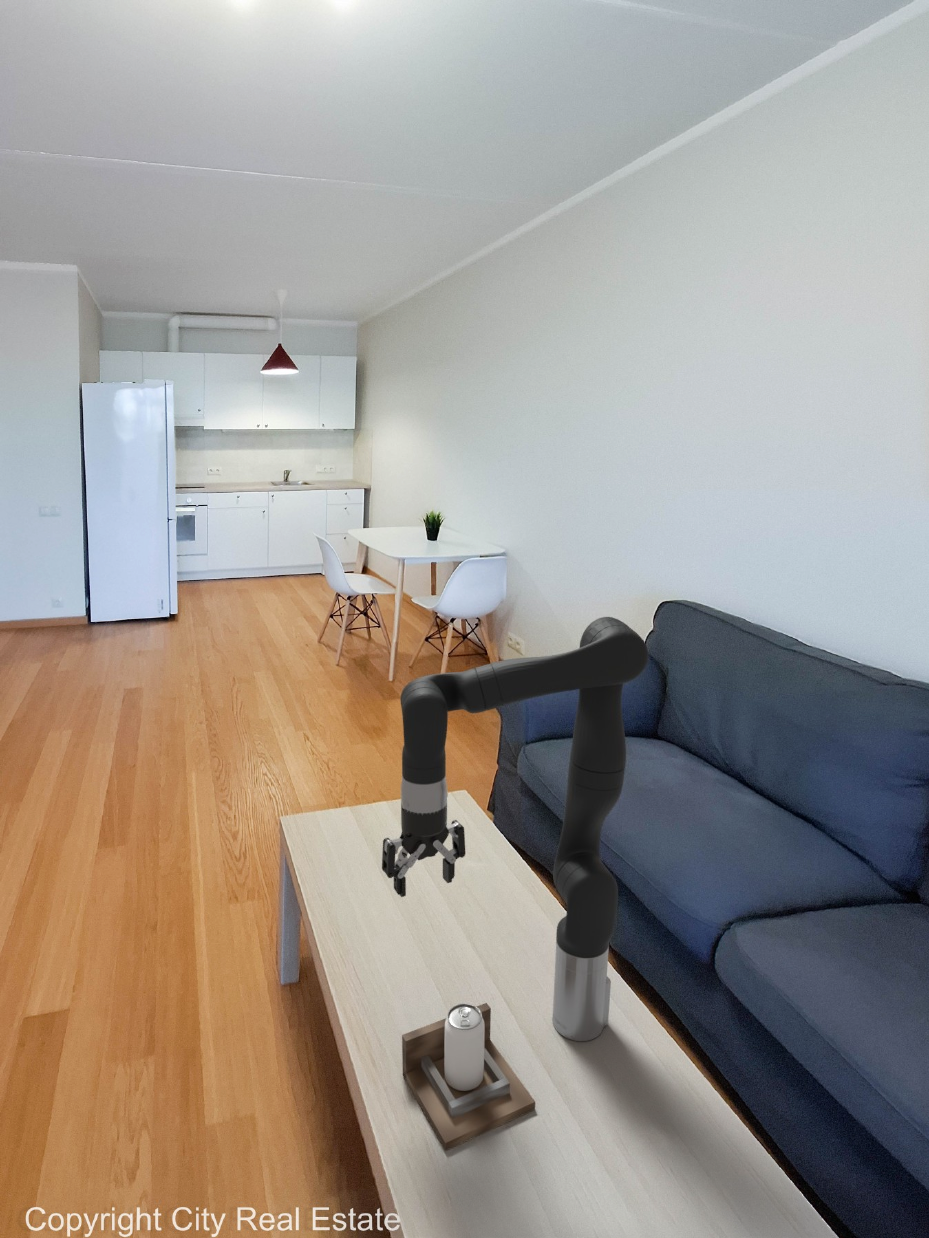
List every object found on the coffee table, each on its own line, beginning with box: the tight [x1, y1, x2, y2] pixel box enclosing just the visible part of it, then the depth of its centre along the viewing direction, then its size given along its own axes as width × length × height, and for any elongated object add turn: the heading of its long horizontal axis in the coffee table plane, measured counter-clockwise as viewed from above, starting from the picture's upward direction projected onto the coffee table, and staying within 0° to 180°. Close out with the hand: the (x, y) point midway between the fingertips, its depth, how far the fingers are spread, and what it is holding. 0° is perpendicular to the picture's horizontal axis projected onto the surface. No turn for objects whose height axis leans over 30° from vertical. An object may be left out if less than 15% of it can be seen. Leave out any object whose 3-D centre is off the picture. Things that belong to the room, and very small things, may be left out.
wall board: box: [401, 1002, 536, 1152], centre depth 130 cm, size 16×16×8 cm
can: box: [445, 1003, 485, 1091], centre depth 131 cm, size 6×6×12 cm
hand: (424, 887), depth 135 cm, fingers open, 8 cm apart
